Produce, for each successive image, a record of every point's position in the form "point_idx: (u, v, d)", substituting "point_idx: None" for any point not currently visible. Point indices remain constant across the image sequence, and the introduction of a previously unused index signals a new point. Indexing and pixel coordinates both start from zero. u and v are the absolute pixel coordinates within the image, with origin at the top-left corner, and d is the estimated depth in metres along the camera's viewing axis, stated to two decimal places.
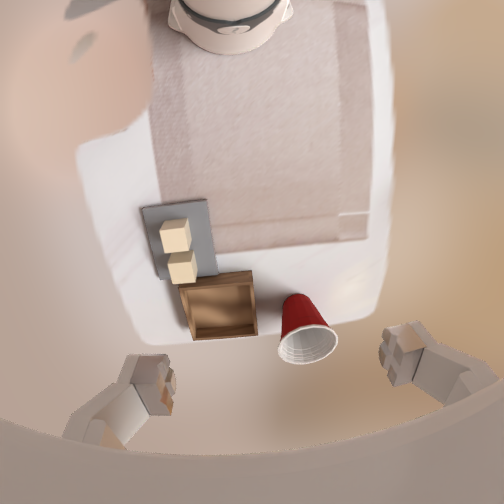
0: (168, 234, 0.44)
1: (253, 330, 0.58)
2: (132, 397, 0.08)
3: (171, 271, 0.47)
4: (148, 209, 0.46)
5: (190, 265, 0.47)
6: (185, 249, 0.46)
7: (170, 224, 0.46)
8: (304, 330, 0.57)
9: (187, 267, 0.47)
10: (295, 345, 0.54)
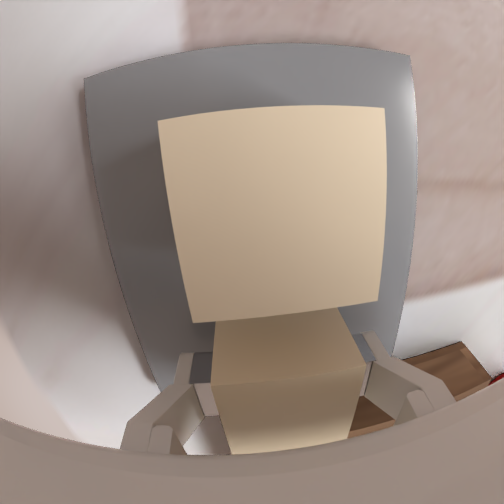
0: (240, 156, 0.05)
1: None
2: (191, 398, 0.08)
3: (233, 417, 0.07)
4: (113, 73, 0.07)
5: (355, 383, 0.07)
6: (358, 292, 0.06)
7: None
8: None
9: (336, 395, 0.07)
10: None
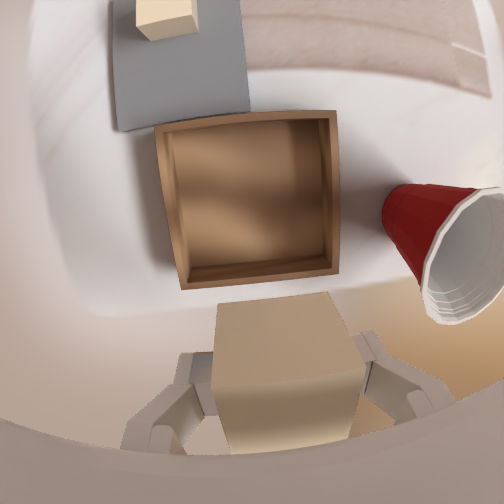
0: None
1: (326, 263, 0.25)
2: (191, 398, 0.08)
3: (233, 419, 0.07)
4: None
5: (355, 385, 0.07)
6: (184, 12, 0.14)
7: None
8: None
9: (336, 396, 0.07)
10: (428, 285, 0.21)
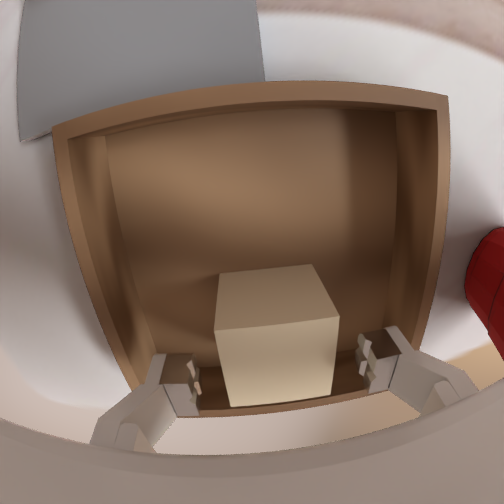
0: None
1: None
2: (161, 398, 0.08)
3: (231, 363, 0.09)
4: None
5: (331, 333, 0.09)
6: None
7: None
8: None
9: (317, 343, 0.09)
10: None
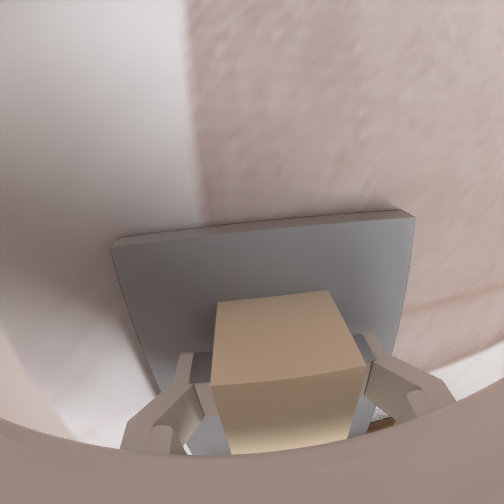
0: (265, 401, 0.07)
1: None
2: (191, 398, 0.08)
3: None
4: (138, 248, 0.09)
5: None
6: (334, 438, 0.08)
7: (261, 332, 0.09)
8: None
9: None
10: None
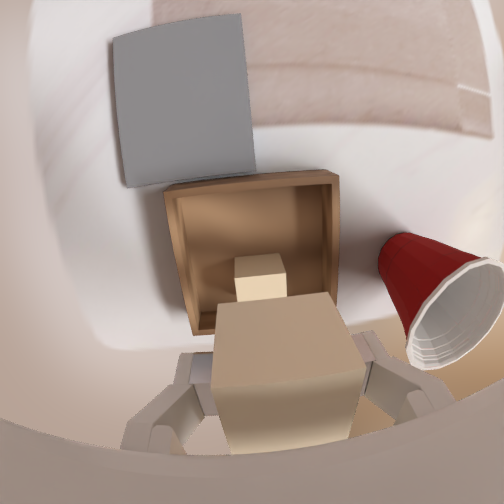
0: (265, 403, 0.07)
1: None
2: (191, 398, 0.08)
3: (241, 294, 0.23)
4: (124, 36, 0.18)
5: (283, 280, 0.23)
6: (334, 440, 0.08)
7: (261, 335, 0.09)
8: None
9: (277, 285, 0.23)
10: (415, 332, 0.23)
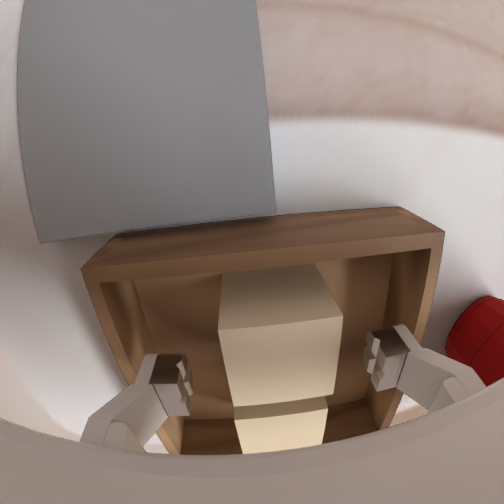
0: (261, 346, 0.09)
1: (371, 421, 0.15)
2: (151, 398, 0.08)
3: (246, 436, 0.11)
4: None
5: (322, 417, 0.11)
6: (322, 391, 0.10)
7: (259, 293, 0.11)
8: None
9: (310, 423, 0.11)
10: None
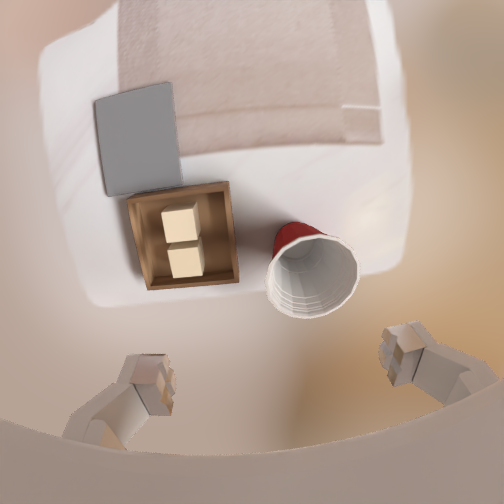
0: (172, 217, 0.35)
1: (232, 276, 0.41)
2: (132, 397, 0.08)
3: (172, 260, 0.37)
4: (102, 99, 0.32)
5: (196, 252, 0.37)
6: (193, 237, 0.36)
7: (175, 207, 0.37)
8: (307, 274, 0.39)
9: (193, 255, 0.37)
10: (293, 292, 0.36)
